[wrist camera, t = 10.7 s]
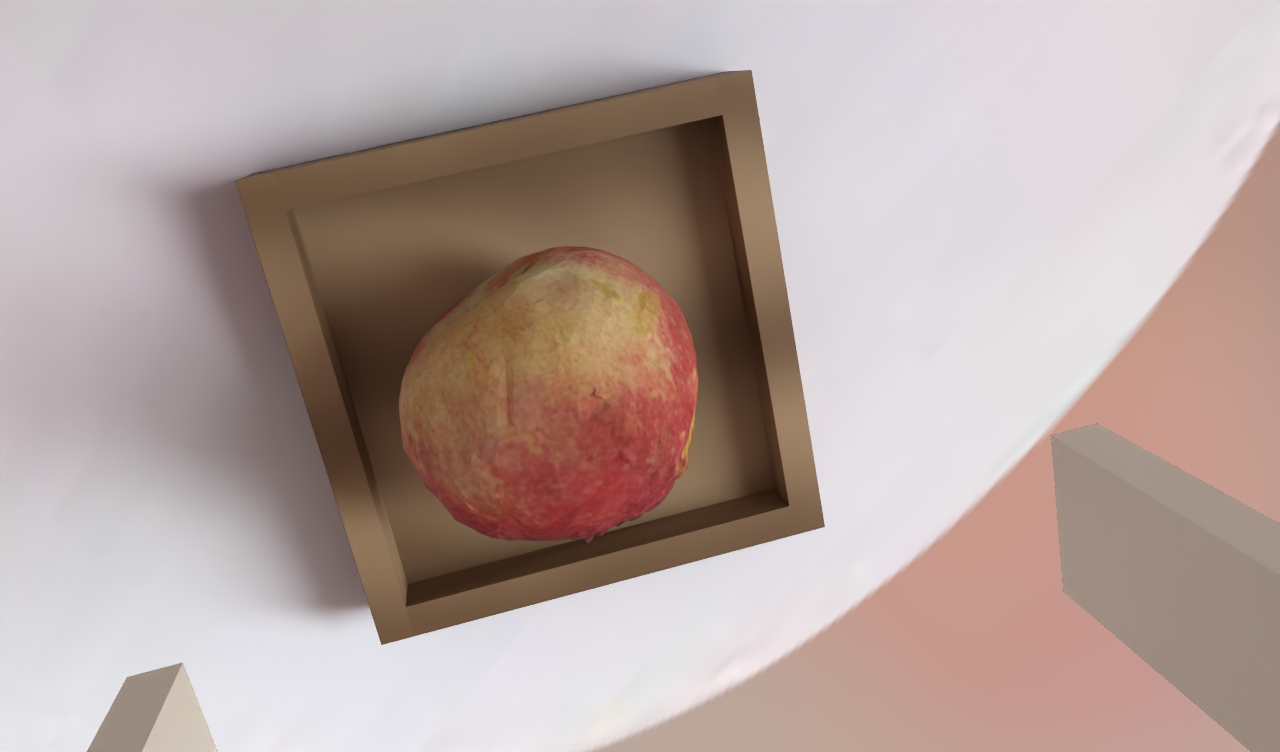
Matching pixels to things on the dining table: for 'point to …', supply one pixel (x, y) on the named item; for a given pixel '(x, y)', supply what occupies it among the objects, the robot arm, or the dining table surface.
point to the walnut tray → (486, 243)
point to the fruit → (553, 398)
